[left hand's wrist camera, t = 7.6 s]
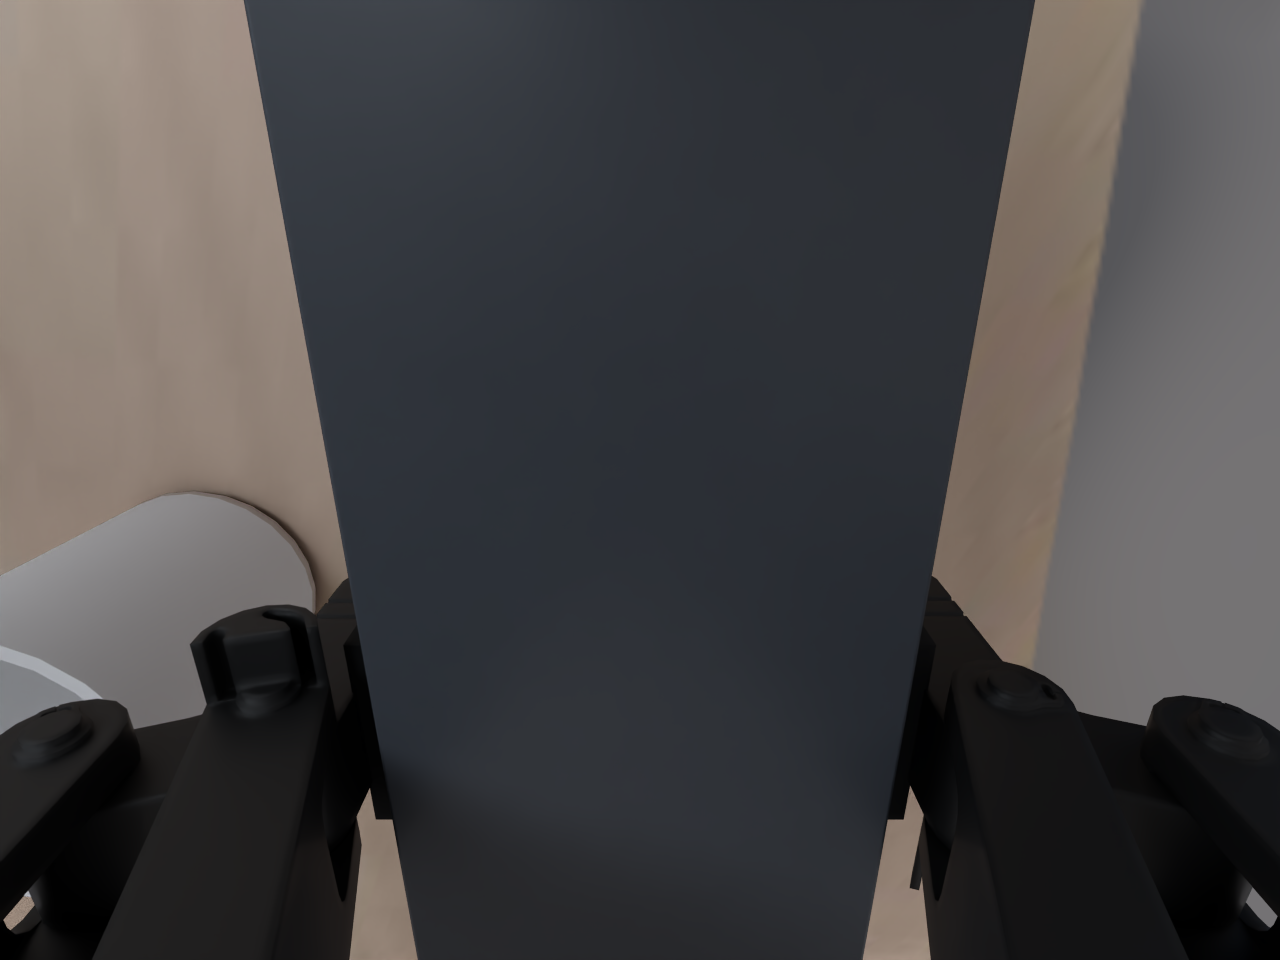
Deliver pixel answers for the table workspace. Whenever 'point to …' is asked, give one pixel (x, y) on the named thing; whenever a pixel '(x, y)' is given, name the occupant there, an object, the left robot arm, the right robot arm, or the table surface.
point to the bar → (639, 435)
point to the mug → (139, 605)
